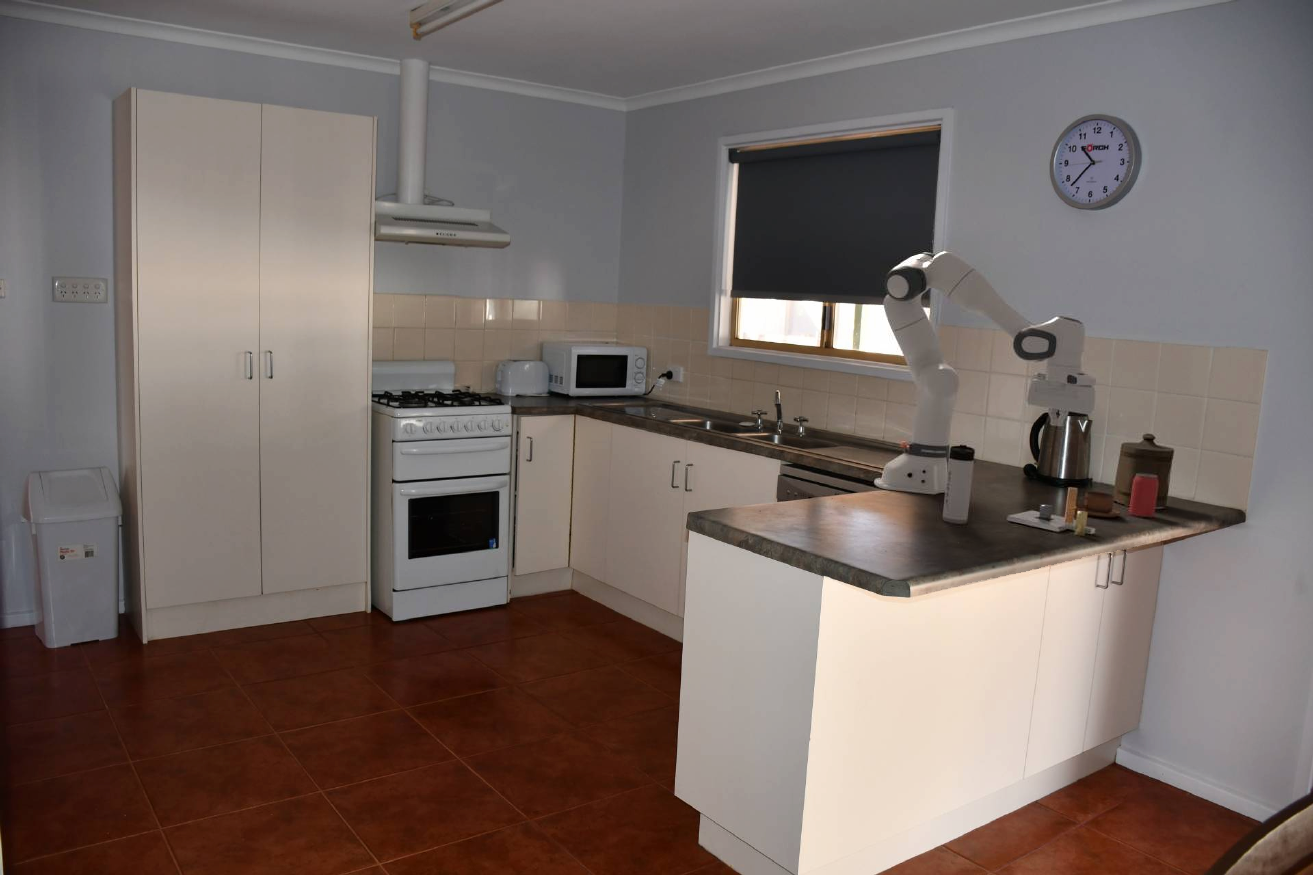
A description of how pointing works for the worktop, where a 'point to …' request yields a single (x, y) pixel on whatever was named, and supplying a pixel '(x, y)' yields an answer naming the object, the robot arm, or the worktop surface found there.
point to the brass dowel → (1081, 523)
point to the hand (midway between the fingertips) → (1056, 425)
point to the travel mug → (958, 484)
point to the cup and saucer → (1098, 505)
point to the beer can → (1144, 495)
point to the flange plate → (1053, 517)
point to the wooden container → (1143, 468)
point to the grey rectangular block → (1045, 512)
